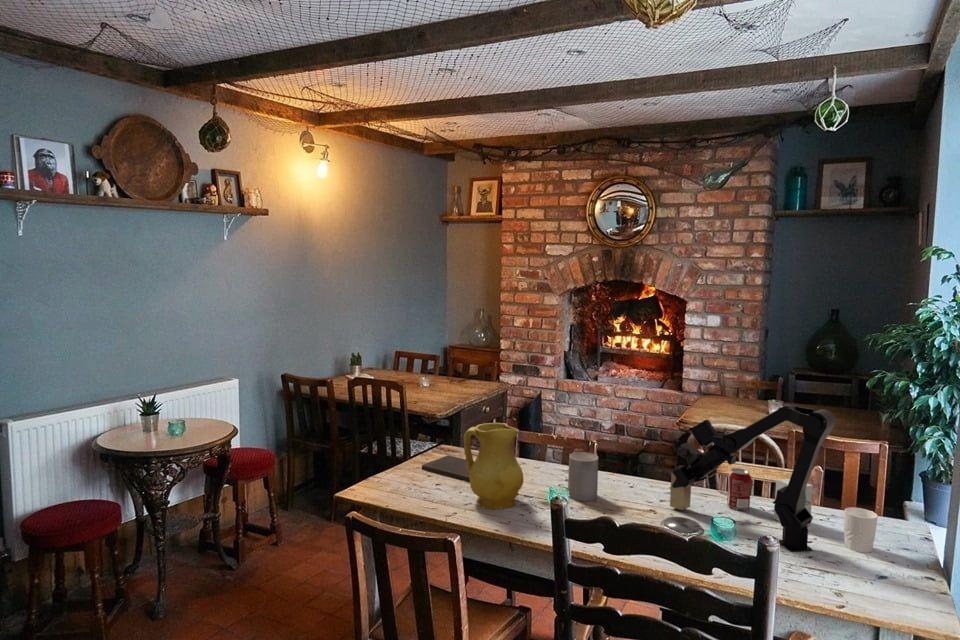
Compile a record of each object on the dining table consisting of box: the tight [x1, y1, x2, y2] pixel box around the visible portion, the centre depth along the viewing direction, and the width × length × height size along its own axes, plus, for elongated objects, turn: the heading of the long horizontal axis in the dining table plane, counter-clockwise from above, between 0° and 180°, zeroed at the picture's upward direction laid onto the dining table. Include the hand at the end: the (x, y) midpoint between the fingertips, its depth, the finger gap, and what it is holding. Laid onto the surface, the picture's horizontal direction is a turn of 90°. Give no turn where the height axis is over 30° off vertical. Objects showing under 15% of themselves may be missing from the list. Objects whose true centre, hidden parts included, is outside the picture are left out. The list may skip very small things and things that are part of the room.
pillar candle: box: [567, 451, 599, 502], centre depth 210 cm, size 10×10×15 cm
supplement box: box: [773, 478, 814, 527], centre depth 193 cm, size 7×7×13 cm
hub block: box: [669, 471, 692, 511], centre depth 201 cm, size 4×4×12 cm
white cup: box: [843, 507, 879, 554], centre depth 176 cm, size 8×8×10 cm
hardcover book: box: [421, 454, 475, 483], centre depth 234 cm, size 16×23×2 cm
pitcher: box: [463, 422, 524, 510], centre depth 204 cm, size 17×19×25 cm
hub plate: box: [659, 516, 704, 537], centre depth 187 cm, size 12×12×1 cm
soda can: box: [726, 467, 752, 511], centre depth 204 cm, size 7×7×12 cm
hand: (676, 485), depth 202 cm, fingers closed on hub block, 4 cm apart
